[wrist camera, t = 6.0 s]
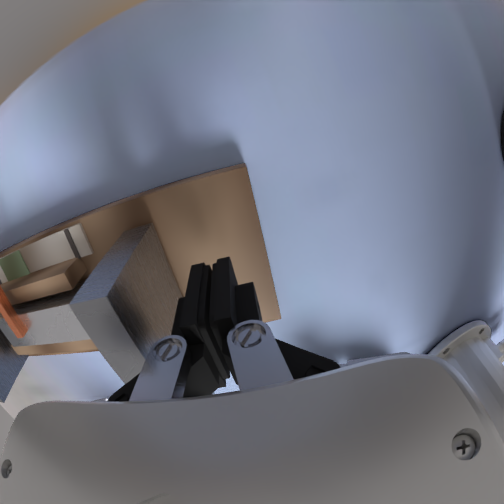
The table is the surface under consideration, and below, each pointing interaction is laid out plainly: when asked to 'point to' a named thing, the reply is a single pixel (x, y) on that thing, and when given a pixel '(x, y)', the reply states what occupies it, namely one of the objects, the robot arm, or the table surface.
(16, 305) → the plunger
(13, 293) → the gauge bed
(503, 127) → the pen holder
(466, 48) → the table surface
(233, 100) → the table surface
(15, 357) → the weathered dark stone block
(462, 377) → the robot arm
